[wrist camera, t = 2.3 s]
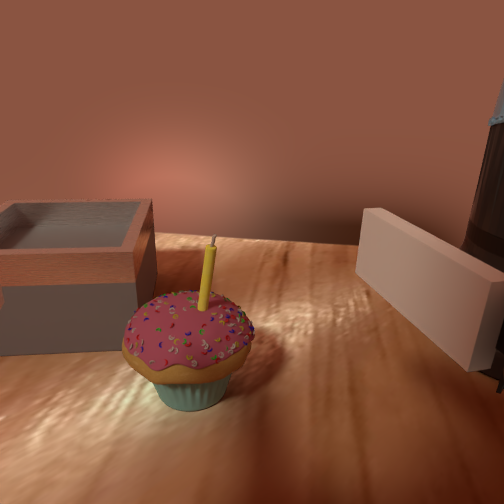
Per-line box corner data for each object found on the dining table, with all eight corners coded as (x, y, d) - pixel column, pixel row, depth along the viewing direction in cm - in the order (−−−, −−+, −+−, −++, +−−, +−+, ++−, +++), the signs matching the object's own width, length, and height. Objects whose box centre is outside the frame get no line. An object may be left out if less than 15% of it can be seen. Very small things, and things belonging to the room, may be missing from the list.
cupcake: (268, 368, 33) (274, 218, 28) (220, 453, 25) (218, 269, 21) (170, 342, 35) (161, 202, 31) (101, 412, 28) (75, 241, 23)
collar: (153, 221, 45) (152, 198, 44) (135, 282, 32) (132, 251, 31) (12, 224, 43) (7, 200, 42) (-66, 288, 30) (-76, 256, 30)
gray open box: (157, 273, 47) (153, 221, 45) (141, 349, 34) (135, 282, 32) (23, 277, 46) (12, 224, 43) (-45, 358, 33) (-66, 288, 30)
